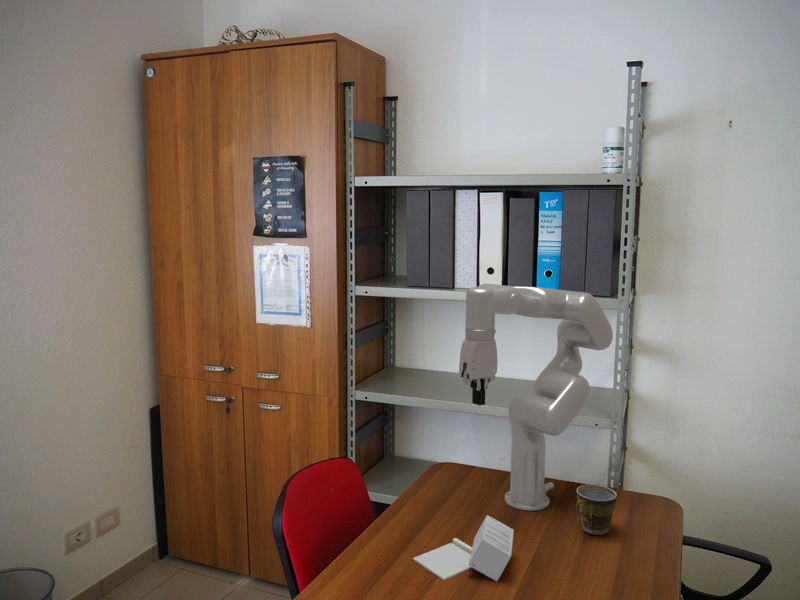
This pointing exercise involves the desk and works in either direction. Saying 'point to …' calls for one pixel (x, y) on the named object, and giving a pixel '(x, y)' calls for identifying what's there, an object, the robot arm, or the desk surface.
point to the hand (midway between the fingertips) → (478, 403)
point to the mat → (445, 561)
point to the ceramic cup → (596, 508)
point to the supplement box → (491, 548)
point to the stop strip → (462, 545)
